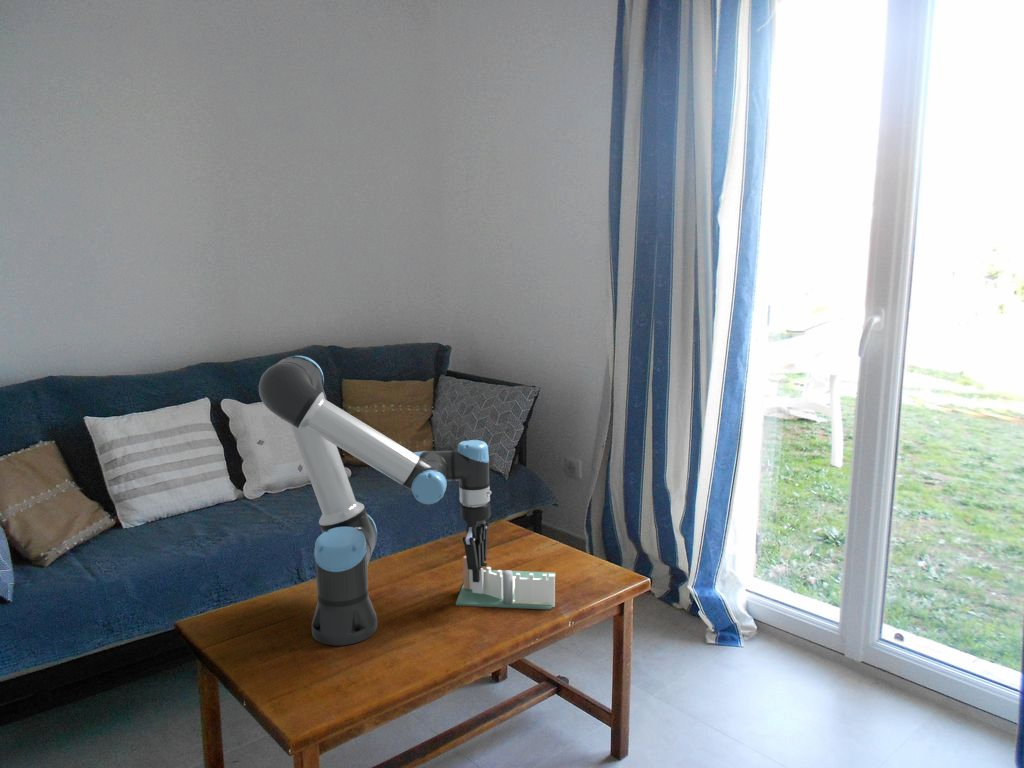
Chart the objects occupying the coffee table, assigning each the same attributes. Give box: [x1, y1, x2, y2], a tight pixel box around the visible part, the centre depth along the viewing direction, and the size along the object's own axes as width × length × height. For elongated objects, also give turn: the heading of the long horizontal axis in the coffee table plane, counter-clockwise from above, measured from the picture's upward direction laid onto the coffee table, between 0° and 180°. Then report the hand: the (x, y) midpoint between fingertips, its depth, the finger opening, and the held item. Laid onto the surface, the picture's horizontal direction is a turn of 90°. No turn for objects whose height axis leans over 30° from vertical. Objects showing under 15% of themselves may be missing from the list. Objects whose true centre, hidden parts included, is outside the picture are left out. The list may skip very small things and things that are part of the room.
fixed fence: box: [503, 569, 556, 608], centre depth 187 cm, size 13×2×8 cm, turn 84°
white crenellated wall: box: [462, 555, 503, 599], centre depth 192 cm, size 12×2×8 cm, turn 55°
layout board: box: [455, 569, 557, 610], centre depth 196 cm, size 24×20×1 cm
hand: (478, 592), depth 190 cm, fingers closed
